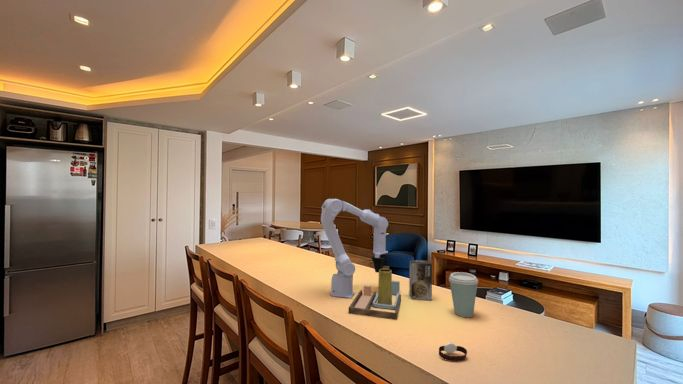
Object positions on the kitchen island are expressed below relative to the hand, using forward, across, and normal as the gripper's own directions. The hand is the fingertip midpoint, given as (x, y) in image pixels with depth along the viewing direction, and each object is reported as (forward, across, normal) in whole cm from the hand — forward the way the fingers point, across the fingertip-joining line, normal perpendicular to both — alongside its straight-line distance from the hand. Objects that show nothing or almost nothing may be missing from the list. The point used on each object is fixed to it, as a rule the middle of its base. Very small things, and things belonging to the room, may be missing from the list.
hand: (378, 270), depth 134 cm
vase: (+10, -17, -5) cm, 20 cm away
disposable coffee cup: (+10, -16, -35) cm, 40 cm away
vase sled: (+10, -11, -5) cm, 16 cm away
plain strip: (+10, -19, +4) cm, 22 cm away
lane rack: (+10, -19, -2) cm, 22 cm away
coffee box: (+10, -2, -19) cm, 22 cm away
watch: (+10, -50, -28) cm, 58 cm away
